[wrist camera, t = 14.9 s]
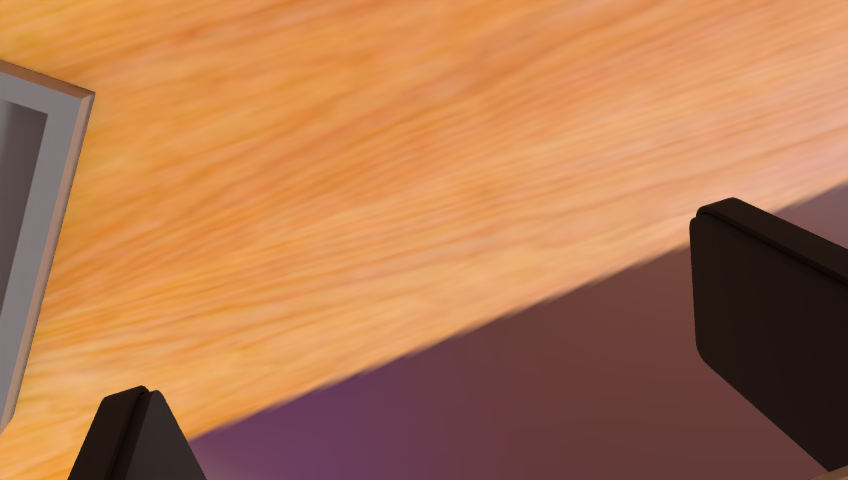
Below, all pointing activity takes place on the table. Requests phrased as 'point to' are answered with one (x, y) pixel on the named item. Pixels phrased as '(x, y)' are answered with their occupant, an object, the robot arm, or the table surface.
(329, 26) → the table surface
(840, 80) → the table surface
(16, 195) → the serving tray
